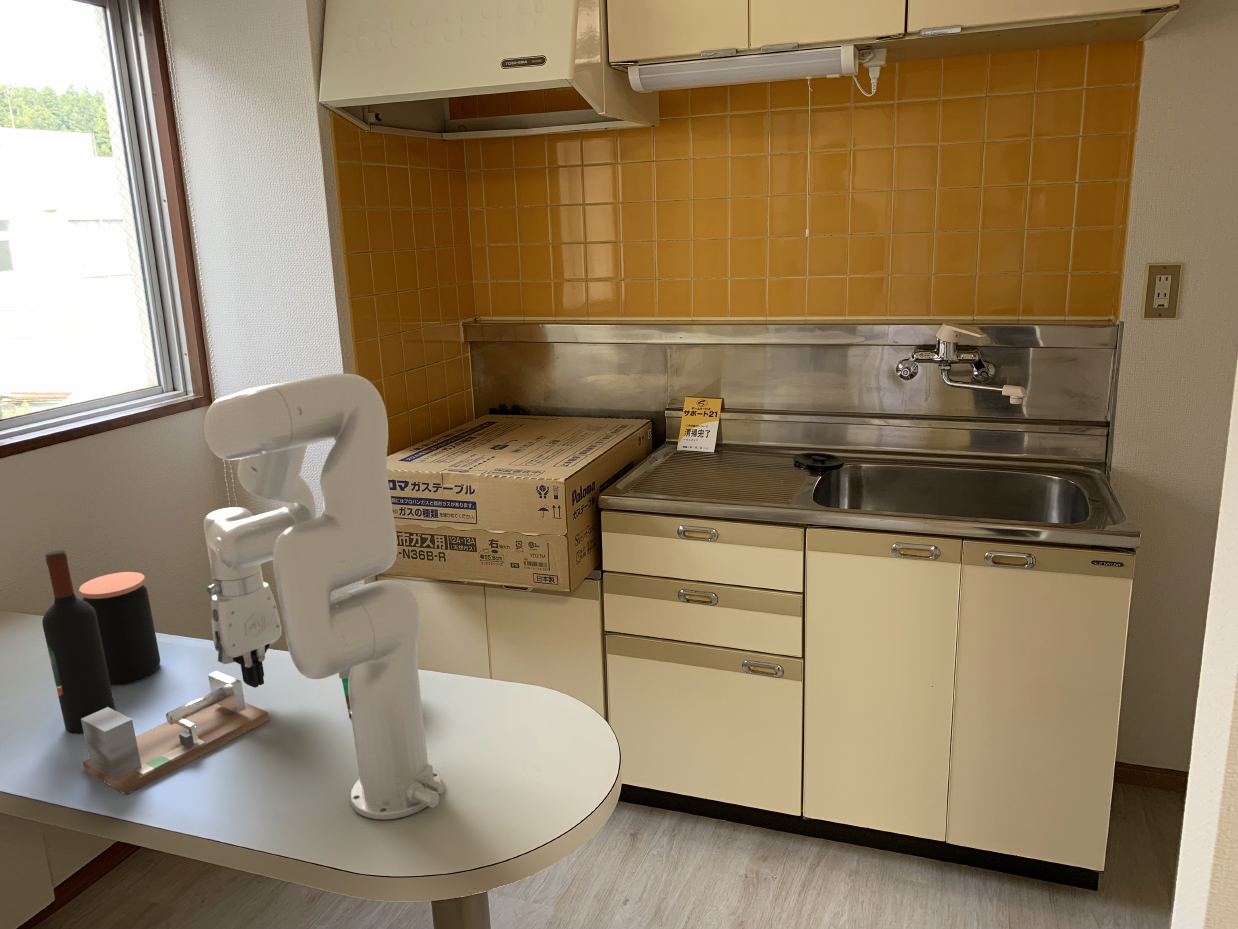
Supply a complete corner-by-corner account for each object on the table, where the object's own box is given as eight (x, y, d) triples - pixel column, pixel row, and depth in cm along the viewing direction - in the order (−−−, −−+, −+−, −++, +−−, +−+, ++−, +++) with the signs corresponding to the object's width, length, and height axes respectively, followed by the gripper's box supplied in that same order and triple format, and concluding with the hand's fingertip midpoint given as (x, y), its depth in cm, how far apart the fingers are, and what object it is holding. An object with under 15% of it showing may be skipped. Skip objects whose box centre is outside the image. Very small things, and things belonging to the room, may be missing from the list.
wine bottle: (89, 737, 152) (52, 563, 145) (54, 730, 155) (16, 559, 147) (127, 713, 159) (93, 546, 152) (93, 708, 162) (58, 543, 154)
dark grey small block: (194, 745, 145) (192, 734, 144) (188, 748, 144) (186, 737, 144) (186, 741, 146) (184, 731, 146) (180, 744, 145) (178, 734, 145)
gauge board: (269, 720, 155) (260, 668, 153) (125, 795, 136) (113, 736, 134) (226, 701, 162) (218, 651, 159) (84, 770, 143) (72, 714, 141)
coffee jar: (104, 666, 178) (85, 576, 173) (165, 656, 181) (149, 568, 176) (91, 691, 168) (72, 598, 163) (157, 680, 171) (139, 588, 166)
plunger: (251, 712, 153) (246, 683, 152) (190, 743, 145) (184, 712, 144) (221, 699, 158) (216, 671, 157) (160, 728, 150) (154, 698, 148)
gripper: (209, 603, 146) (227, 709, 151) (291, 572, 158) (305, 671, 163) (183, 594, 151) (201, 697, 155) (264, 564, 162) (279, 661, 167)
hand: (254, 683), depth 159 cm, fingers closed
